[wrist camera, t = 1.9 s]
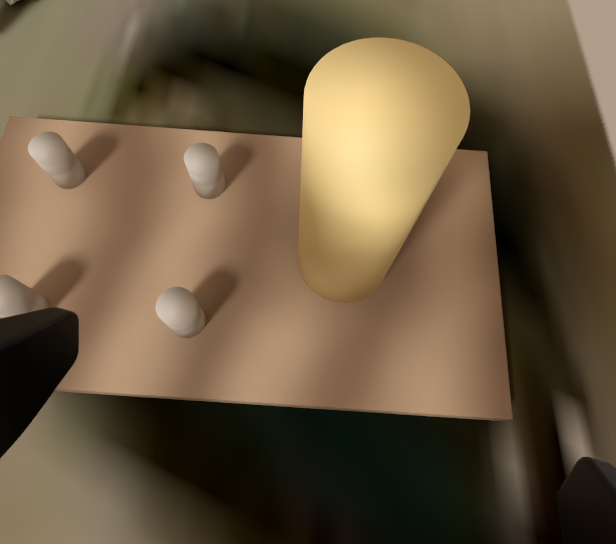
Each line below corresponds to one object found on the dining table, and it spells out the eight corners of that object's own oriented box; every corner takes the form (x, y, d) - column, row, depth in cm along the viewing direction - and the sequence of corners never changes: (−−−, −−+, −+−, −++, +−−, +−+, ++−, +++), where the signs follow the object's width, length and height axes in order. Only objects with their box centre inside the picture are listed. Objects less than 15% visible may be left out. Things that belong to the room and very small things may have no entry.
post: (311, 312, 21) (331, 188, 11) (287, 230, 23) (285, 53, 12) (399, 289, 22) (497, 150, 12) (370, 210, 23) (434, 25, 13)
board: (-67, 382, 21) (-138, 370, 17) (22, 130, 26) (-20, 81, 22) (500, 420, 21) (542, 415, 17) (478, 164, 26) (507, 121, 22)
